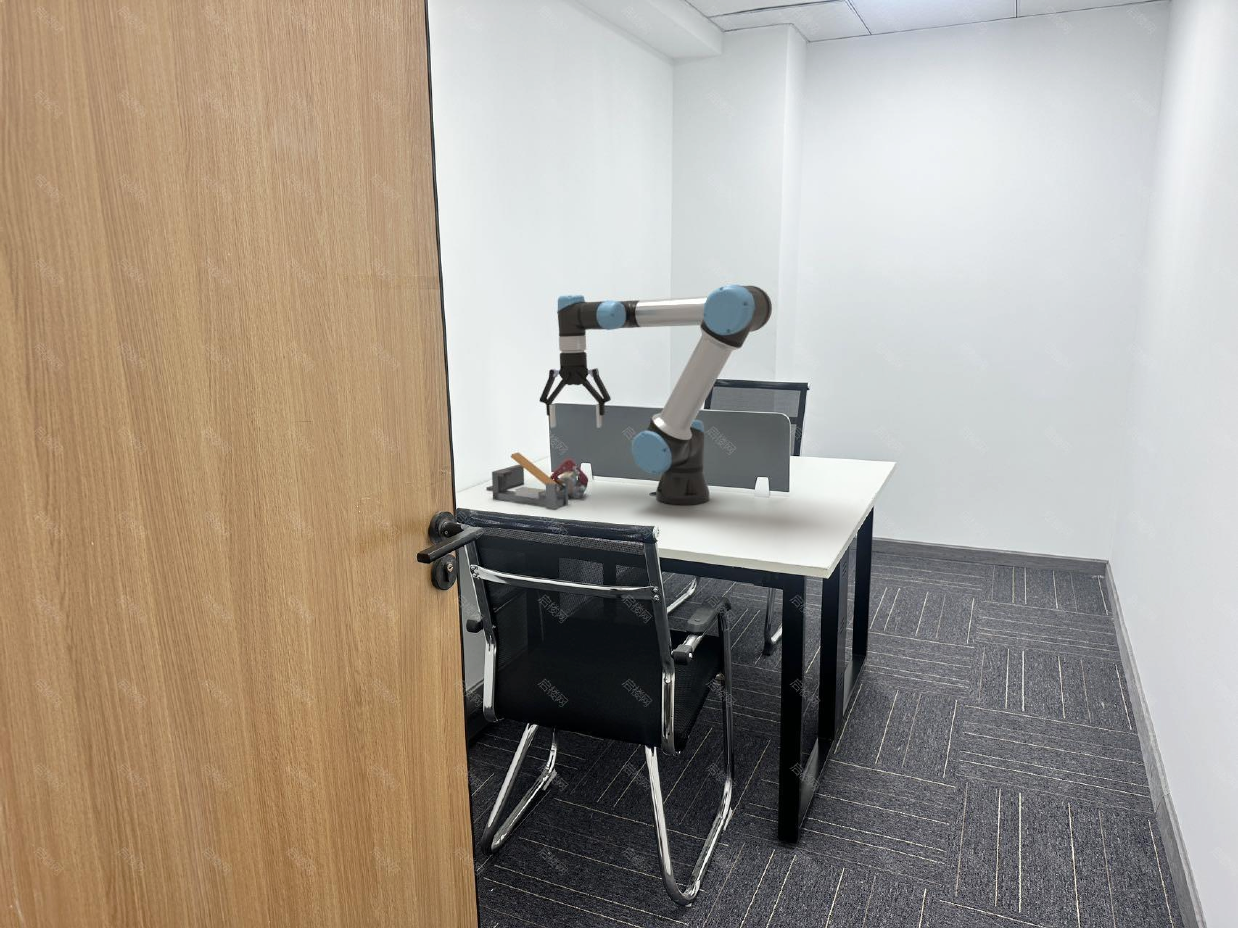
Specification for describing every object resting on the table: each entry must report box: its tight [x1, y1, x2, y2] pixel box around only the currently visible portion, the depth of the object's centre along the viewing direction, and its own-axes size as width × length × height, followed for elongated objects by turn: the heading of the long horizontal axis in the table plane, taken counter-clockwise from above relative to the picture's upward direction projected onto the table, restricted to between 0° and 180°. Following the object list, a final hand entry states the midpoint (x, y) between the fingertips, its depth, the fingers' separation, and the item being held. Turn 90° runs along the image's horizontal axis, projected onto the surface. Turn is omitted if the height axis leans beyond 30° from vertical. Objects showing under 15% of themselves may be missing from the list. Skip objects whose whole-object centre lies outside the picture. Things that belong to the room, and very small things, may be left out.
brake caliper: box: [549, 458, 589, 499], centre depth 242 cm, size 11×11×12 cm
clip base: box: [491, 468, 569, 510], centre depth 236 cm, size 22×6×8 cm, turn 59°
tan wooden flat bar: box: [510, 452, 562, 491], centre depth 233 cm, size 17×3×1 cm
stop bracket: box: [485, 464, 525, 492], centre depth 255 cm, size 5×12×6 cm, turn 149°
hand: (576, 427), depth 238 cm, fingers open, 13 cm apart
